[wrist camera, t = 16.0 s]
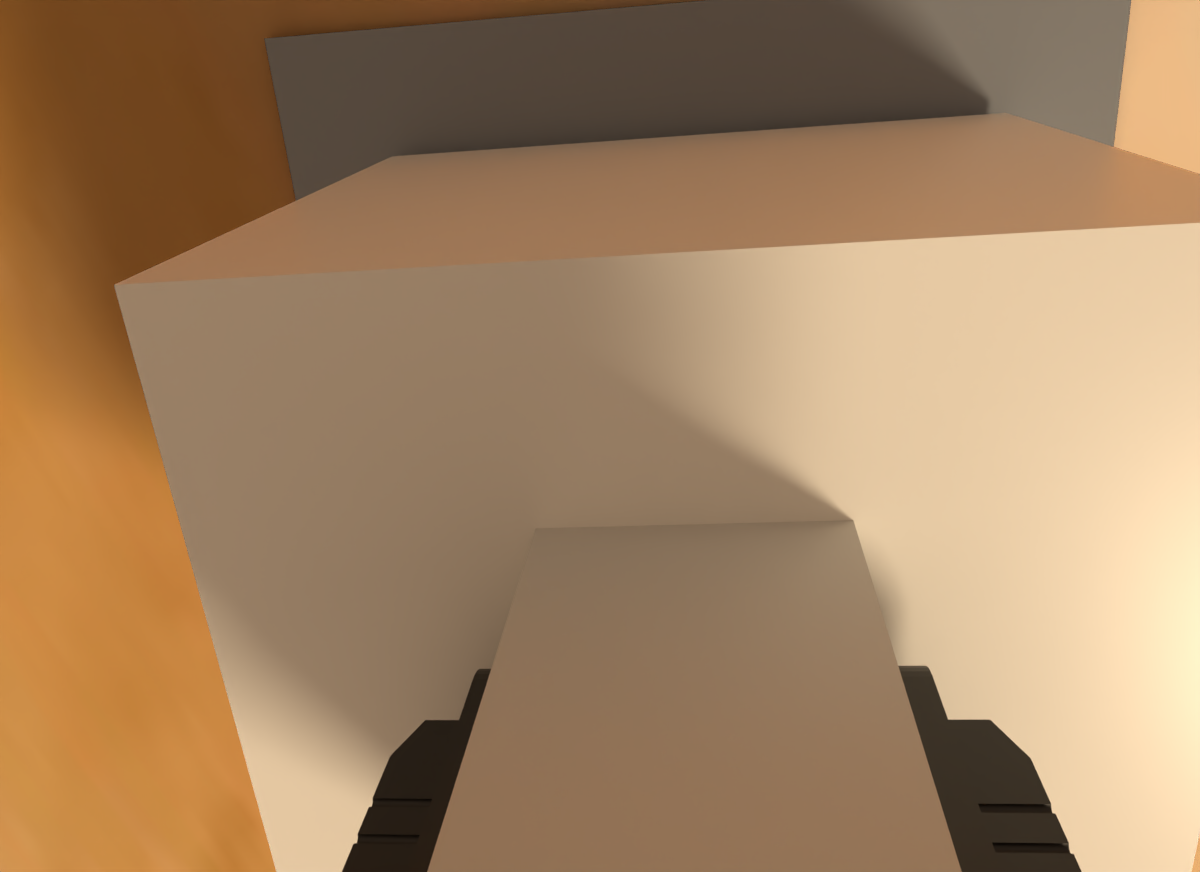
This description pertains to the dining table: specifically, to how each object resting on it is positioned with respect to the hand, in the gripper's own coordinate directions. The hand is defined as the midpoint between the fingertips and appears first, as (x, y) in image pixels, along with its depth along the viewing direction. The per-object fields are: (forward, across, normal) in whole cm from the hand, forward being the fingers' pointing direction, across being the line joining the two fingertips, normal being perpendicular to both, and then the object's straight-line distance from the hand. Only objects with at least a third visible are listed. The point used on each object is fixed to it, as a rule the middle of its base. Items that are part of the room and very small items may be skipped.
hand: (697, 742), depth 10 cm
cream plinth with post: (+9, 0, 0) cm, 9 cm away
